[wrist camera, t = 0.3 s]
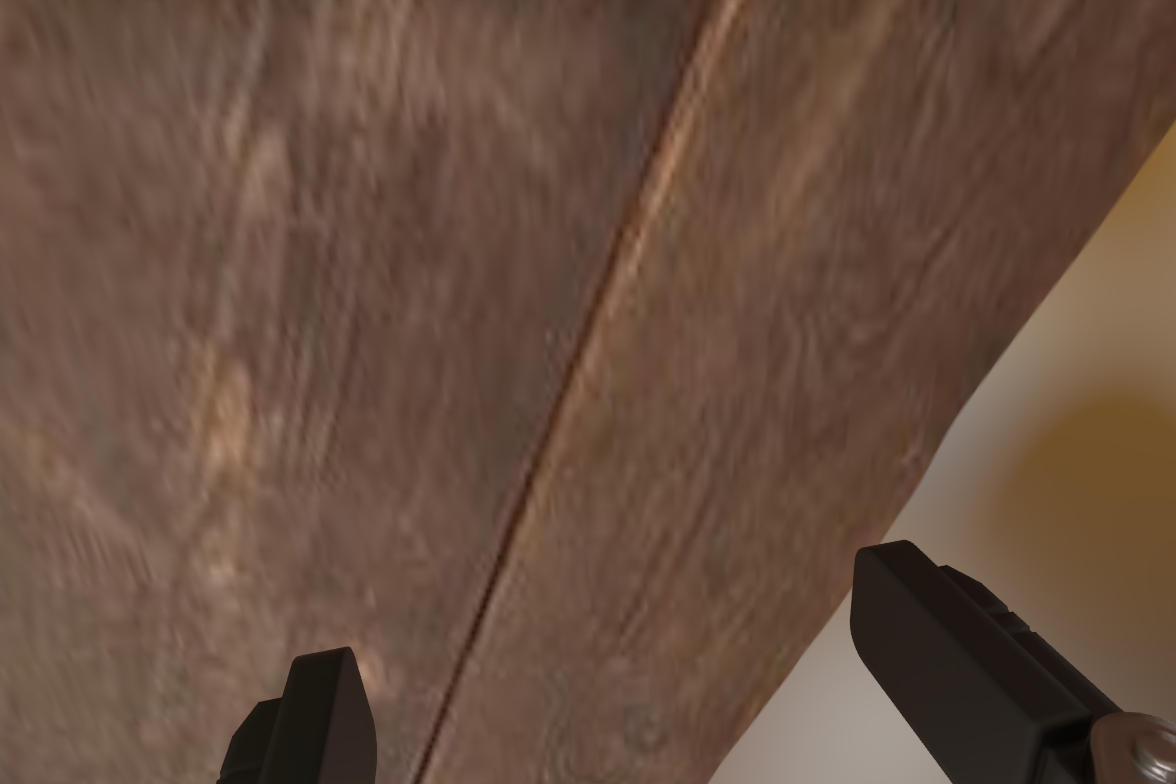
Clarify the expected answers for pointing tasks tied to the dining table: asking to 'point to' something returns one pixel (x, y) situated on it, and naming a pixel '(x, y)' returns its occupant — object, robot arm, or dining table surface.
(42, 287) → the dining table surface
